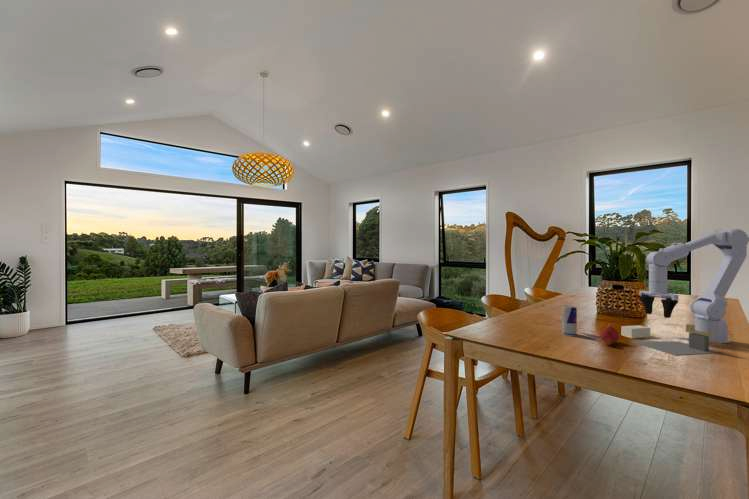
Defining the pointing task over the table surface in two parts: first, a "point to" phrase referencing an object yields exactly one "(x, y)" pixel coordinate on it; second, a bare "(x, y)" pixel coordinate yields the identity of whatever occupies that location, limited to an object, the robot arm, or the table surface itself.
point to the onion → (609, 335)
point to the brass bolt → (697, 331)
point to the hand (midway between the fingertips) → (657, 315)
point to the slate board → (681, 345)
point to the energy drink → (569, 320)
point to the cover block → (635, 331)
